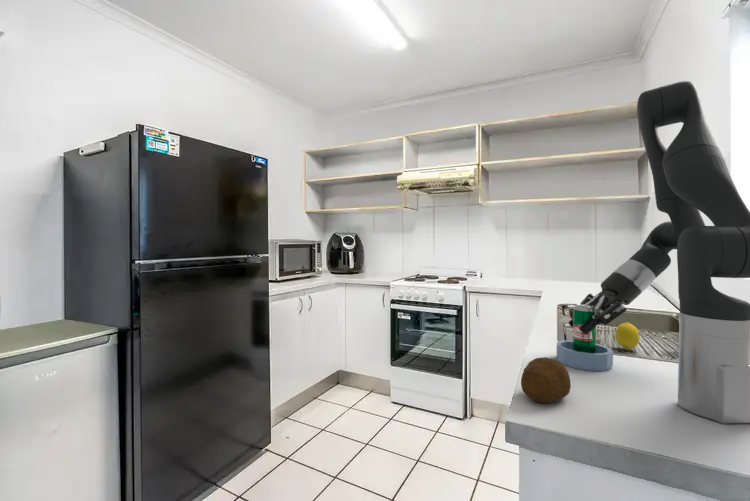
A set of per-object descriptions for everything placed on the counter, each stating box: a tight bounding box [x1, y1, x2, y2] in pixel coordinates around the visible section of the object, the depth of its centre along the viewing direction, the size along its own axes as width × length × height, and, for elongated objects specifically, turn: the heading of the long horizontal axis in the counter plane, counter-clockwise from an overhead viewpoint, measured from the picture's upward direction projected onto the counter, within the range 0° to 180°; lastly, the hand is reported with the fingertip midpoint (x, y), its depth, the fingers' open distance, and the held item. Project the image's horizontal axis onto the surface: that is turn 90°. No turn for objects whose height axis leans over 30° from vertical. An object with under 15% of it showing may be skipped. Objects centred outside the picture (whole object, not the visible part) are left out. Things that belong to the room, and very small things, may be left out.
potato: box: [520, 356, 572, 404], centre depth 68 cm, size 8×12×8 cm, turn 136°
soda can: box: [572, 303, 597, 353], centre depth 88 cm, size 5×5×12 cm
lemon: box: [614, 322, 640, 351], centre depth 100 cm, size 6×6×8 cm
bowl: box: [555, 340, 614, 372], centre depth 88 cm, size 12×12×4 cm
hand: (576, 328), depth 88 cm, fingers closed on soda can, 5 cm apart
